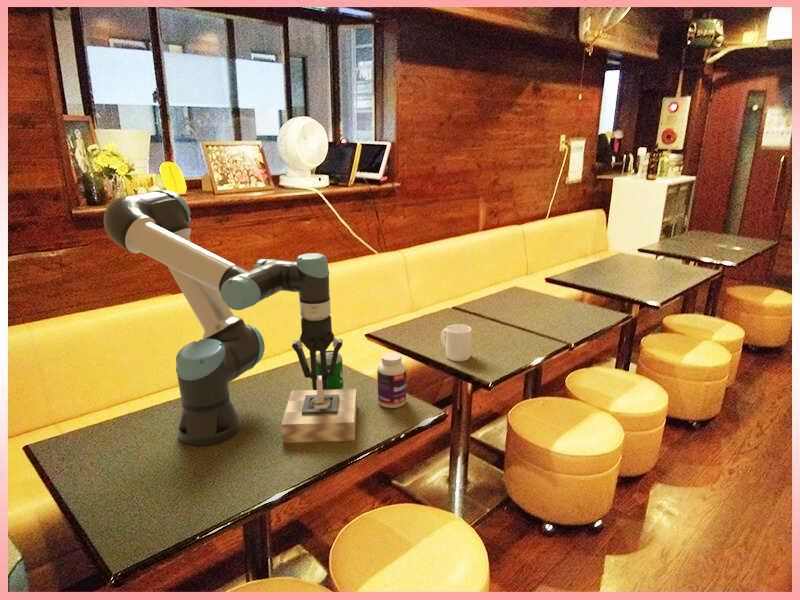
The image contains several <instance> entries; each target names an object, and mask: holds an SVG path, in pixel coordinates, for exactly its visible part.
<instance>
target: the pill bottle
mask: <svg viewBox="0 0 800 600" xmlns="http://www.w3.org/2000/svg"><path fill="white" fill-rule="evenodd" d="M376 370H377V372H376V373H377V374H376V375H377V401H378V405H380V406H381V407H383V408H387V409H397V408H400V407H402V406H404V405H405V404H406V401H407V366H406V364H405V363H404V362H403V361H402V354H400V353H398V352H385V353H384V354H382V355H381V362H380V363H379V364H378V365H377V368H376Z"/></svg>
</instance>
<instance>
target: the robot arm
mask: <svg viewBox="0 0 800 600" xmlns="http://www.w3.org/2000/svg"><path fill="white" fill-rule="evenodd" d="M104 211H105V212H104V214H103V226H104V230H105V232H106V233H107V235H108V236H109V238H110V239H111V240H112V241H113V242H114V243H115V244H116V245H118V246H119V247H121V248H122V249H124V250H126V251H128V252H130V253H133V254H140V253H142V254H143V255H145V256H148V257H149V258H151V259H153V260H155V261H156V262H157V261H158V262H159V263H161V264H163V265H165V266H166V267H167V268H168V270H169V272H170V273H171V275H172V277H173V279H174V280H175V282H176V284H177V286H178V287H179V289H180V290H181V293H182V294H183V296H184V297H185V299H186V301H187V302H188V305H189V306H190V308H191V309H192V312H193V313H194V315H195V316H196V318H197V321H199V323H200V326H202V329H203V330H204V332H203V336H202V339H199V340H198V341H196V340H195V341H192V342H190V343H188V344H186V345H183V347H181V348H180V350H179V351H178V352H177V354H176V357H175V364H176V365H175V371H176V376H177V382H178V387H179V394H180V399H181V407H182V408H181V412H180V418H179V423H178V426H177V430H178V438H179V440H180V441H181V442H183V444H187V445H189V446H194V447H195V446H197V447H203V446H210V445H216V444H220V443H221V442H224V441H226V440H228V439H231V438H232V437H233V436H235V435H236V434H237V432H238V431H239V430H240V428H241V427H240V426H241V425H240V417H239V414H238V412H237V410H236V408H235V407H234V405H233V403H232V401H231V399H230V398H231V397H230V389H229V384H230V383H231V382H233V381H235V380H236V379H237V378H239V377H240V376H241V375H243V374H245V373H246V372H247V371H250V370H252V369H253V368H254V367H255V366H256V365H257V364H258V363H259V362H260V361H261V360H262V359H263V356H264V353H265V350H266V349H265V348H266V347H265V346H266V345H265V340H264V337H263V335H262V333H261V332H260V331H259V330H258V328H256V327H253V325H251V324H246V322H245V321H244V320H243V318H242V317H240V316H237V315H234V314H233V312H232V310H234V311H243V310H245V309H248V308H250V307H253V306H255V305H256V304H257V303H259V302H261V301H264V300H265V299H267V298H269V297H271V296H274V295H275V294H277V293H279V292H282V291H284V292H292V293H293V292H295V293H298V296H299V310H300V312H299V313H300V314H299V315H300V316H301V317H300V325H301V326H300V328H301V334H300V337H299V338H298V339H297V340H296V339H295V340H294V341H293V342H292V345H291V348H292V349H293V350H294V351H295V352H296V355H297V358H298V360H299V361H298V362H299V364H300V367H301V370H302V373H303V376H304V378H306V379H308V378H309V379H310V380H311V386H312V390H317V399H318V403H323V402H324V390H327V387H328V381H327V378H328V377H333V375H334V370H335V365H336V360H337V356H338V353H339V352H340V349H341V348H342V347H343V339H341V338H340V339H338V338H337V337H335V335H334V333H333V329H332V328H333V327H332V315H331V313H332V312H331V311H332V310H331V295H330V270H329V263H328V257H327V256H326V255H324V254H322V253H318V252H317V253H315V252H314V253H311V252H310V253H304V254H300V255H298V256H297V257H296V261H294V260H293V261H292V260H282V259H281V260H280V259H275V258H269V259H268V258H265V259H264V258H261V259H259V260H257V261H256V263H255V264H254V265H253V267H252V269H251V270H248V269H245V268H243V267H241V266H239V265H237V264H235V263H233V262H231V261H229V260H227V259H225V258H223V257H221V256H219V255H217V254H215V253H213V252H211V251H209V250H207V249H205V248H203V247H201V246H199V245H197V244H195V243H193V242H192V240H191V237H190V236H191V233H192V228H191V227H190V223H191V219H192V218H191V217H190V216H191V209H190V207H189V205H188V203H187V202H186V201H185V199H184V198H183V197H182V196H181V195H179V194H178V193H176V192H174V191H171V190H165V189H164V190H159V189H158V190H152V191H151V190H150V192H149V191H148V192H142V193H137V194H132V195H125V196H120V197H118V198H116V199H114V200H113V201H111V203H109V205H108V206H107V207H106V209H105V210H104ZM331 344H332V347H333V356H332V361H331V365H330V370H329V371H327V361H326V351H327V349H328V348H329V347H330V345H331ZM303 346H305V348H306V349H307V350H308V351H309V358H310V359H309V360H310V366H309V363H308V360H307V357H306V355H305V354H306V353H304V349H303ZM317 352H319V354H320V357H321V373H322V376H317V373H318V372H317V361H316V358H317Z"/></svg>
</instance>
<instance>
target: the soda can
mask: <svg viewBox="0 0 800 600" xmlns="http://www.w3.org/2000/svg"><path fill="white" fill-rule="evenodd" d="M333 351H334V349H333V350H331V349H330V350H329V349H328V350H326V361H327V371H329V370H330V365H331V361H332V356H333ZM316 361H317V372H318V373H317V376H322V373H321V357H320V353H318V355H316ZM343 368H344V367H343V356H342V354H341V353H339V352H338V356H337V360H336V365H335V370H334V375H333V377H328V378H327V381H328V387H327V390H335V389H344V374H343V373H344V372H343V370H344V369H343Z"/></svg>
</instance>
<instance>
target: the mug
mask: <svg viewBox="0 0 800 600" xmlns="http://www.w3.org/2000/svg"><path fill="white" fill-rule="evenodd" d="M440 342H441V343H440V344H441V345H442V346H443V347H444V348H445V356H446V358H447V359H448V360H450V361H453V362H465V361H467V360H469V359H470V358H471V354H472V353H471V350H472V327H470V326H469V325H466V324H462V323H458V324H457V323H455V324H450V325H448V326H446V327H445V328H444V329H443V330H442V331H441V333H440Z"/></svg>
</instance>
